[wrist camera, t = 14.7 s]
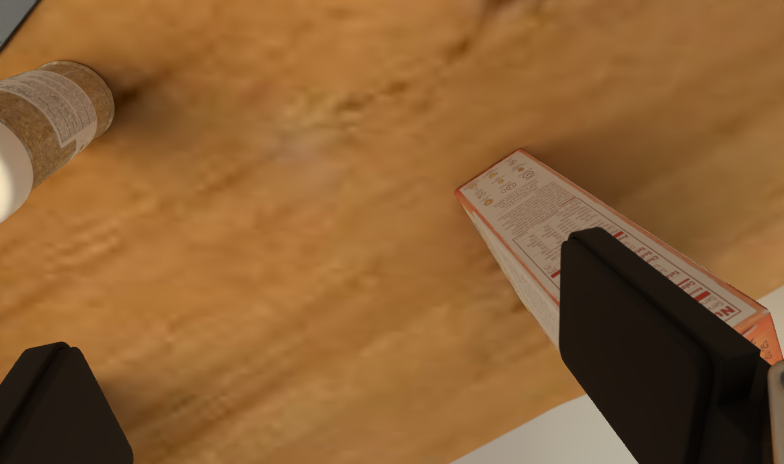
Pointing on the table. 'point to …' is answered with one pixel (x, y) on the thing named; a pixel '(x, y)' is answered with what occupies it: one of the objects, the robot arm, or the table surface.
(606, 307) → the robot arm
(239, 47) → the table surface
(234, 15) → the table surface
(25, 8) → the napkin
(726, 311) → the cracker box
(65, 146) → the spice jar
